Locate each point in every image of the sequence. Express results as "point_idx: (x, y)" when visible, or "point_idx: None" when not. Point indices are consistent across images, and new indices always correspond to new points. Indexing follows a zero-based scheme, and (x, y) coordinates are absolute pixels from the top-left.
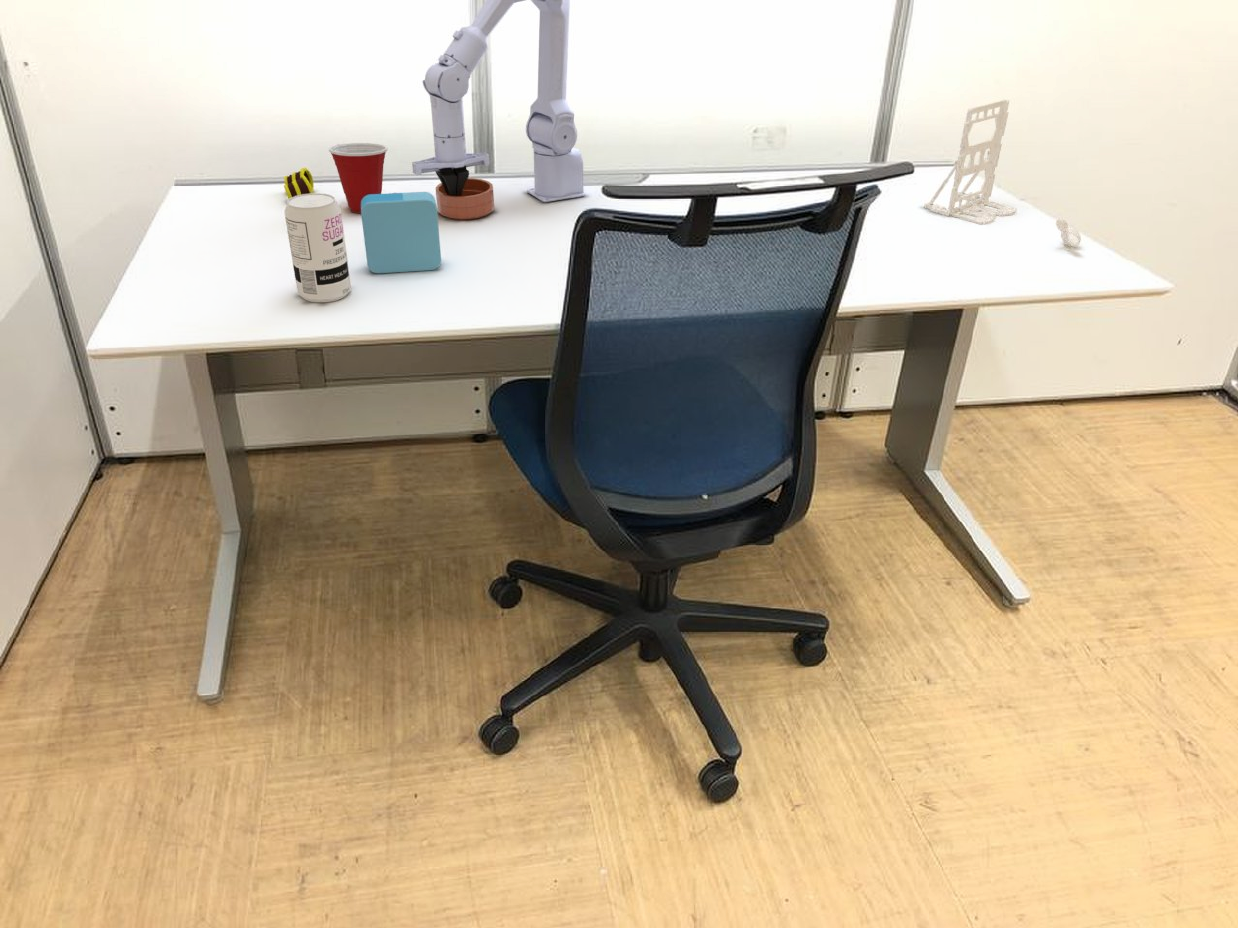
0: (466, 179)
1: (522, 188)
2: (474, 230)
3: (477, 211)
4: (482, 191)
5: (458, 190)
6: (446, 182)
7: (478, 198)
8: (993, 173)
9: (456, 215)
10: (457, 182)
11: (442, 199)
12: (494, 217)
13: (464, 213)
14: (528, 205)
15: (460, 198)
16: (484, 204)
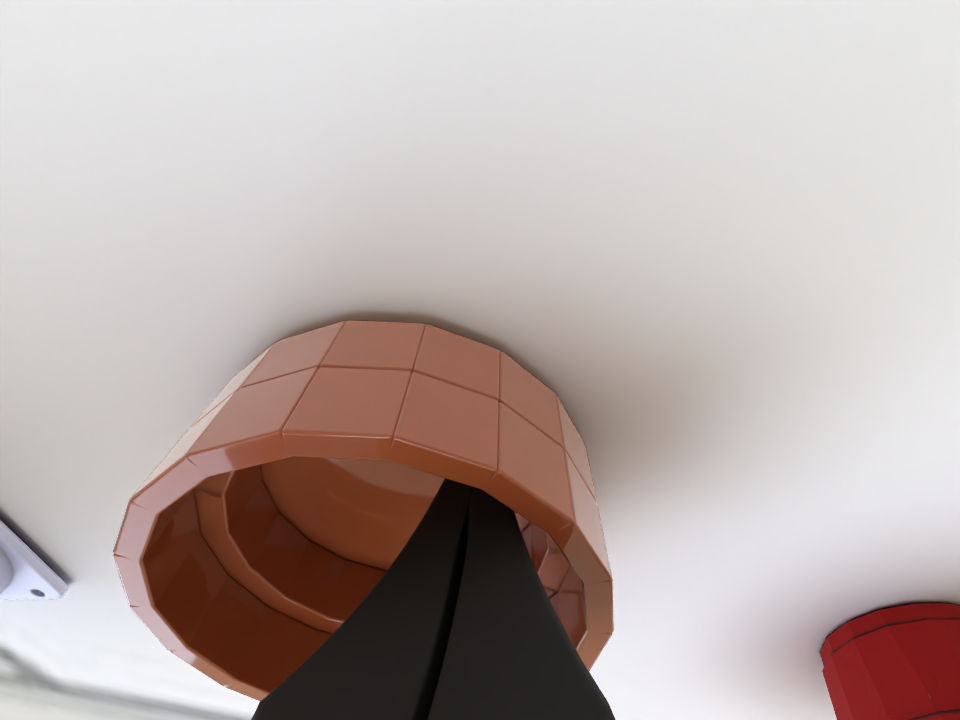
0: (308, 666)
1: (107, 625)
2: (419, 54)
3: (329, 344)
4: (255, 589)
5: (439, 562)
6: (584, 668)
7: (265, 419)
8: None
9: (506, 365)
10: (433, 645)
11: (593, 524)
12: (227, 325)
13: (442, 352)
14: (25, 447)
15: (450, 446)
16: (245, 389)
